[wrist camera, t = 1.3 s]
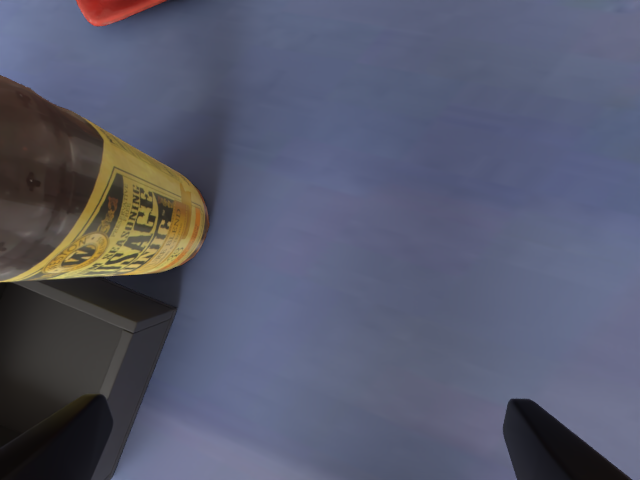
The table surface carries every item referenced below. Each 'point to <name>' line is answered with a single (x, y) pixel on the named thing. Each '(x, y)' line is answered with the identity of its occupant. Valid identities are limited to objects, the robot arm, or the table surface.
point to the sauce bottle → (86, 198)
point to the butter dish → (113, 9)
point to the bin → (77, 353)
